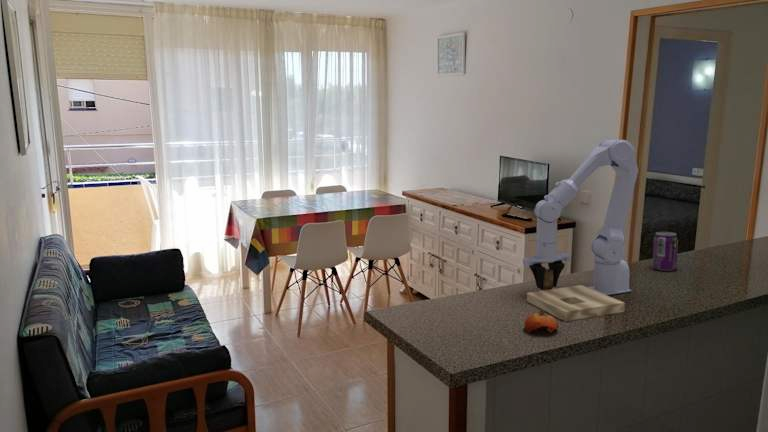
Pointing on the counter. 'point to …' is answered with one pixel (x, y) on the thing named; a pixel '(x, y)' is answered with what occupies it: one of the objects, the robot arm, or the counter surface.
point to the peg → (548, 279)
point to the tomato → (540, 322)
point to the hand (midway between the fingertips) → (546, 287)
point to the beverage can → (665, 251)
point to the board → (575, 302)
